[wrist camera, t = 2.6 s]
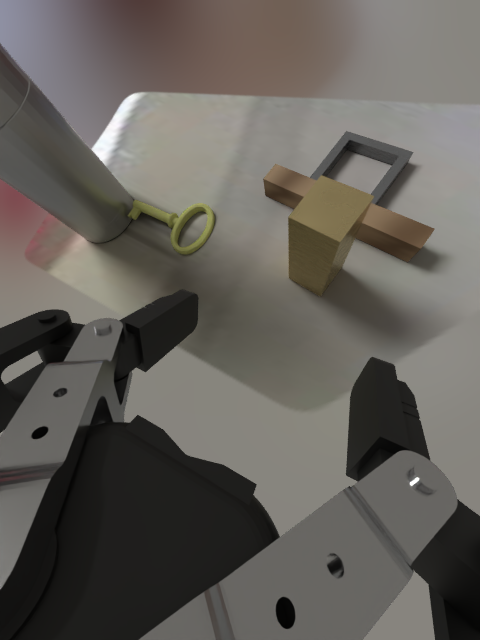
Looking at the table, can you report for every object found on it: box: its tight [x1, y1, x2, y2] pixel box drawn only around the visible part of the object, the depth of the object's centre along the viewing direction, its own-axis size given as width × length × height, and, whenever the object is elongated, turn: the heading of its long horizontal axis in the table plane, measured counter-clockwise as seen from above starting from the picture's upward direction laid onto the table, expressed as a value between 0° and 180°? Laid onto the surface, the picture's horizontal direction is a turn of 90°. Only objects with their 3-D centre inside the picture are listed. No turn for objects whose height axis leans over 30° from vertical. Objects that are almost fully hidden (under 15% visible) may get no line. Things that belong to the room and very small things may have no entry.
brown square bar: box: [263, 164, 434, 262], centre depth 25 cm, size 18×2×2 cm, turn 52°
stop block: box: [288, 175, 374, 297], centre depth 20 cm, size 4×4×10 cm
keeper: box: [310, 131, 413, 205], centre depth 26 cm, size 8×8×1 cm
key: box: [128, 200, 215, 254], centre depth 30 cm, size 7×12×2 cm, turn 79°
